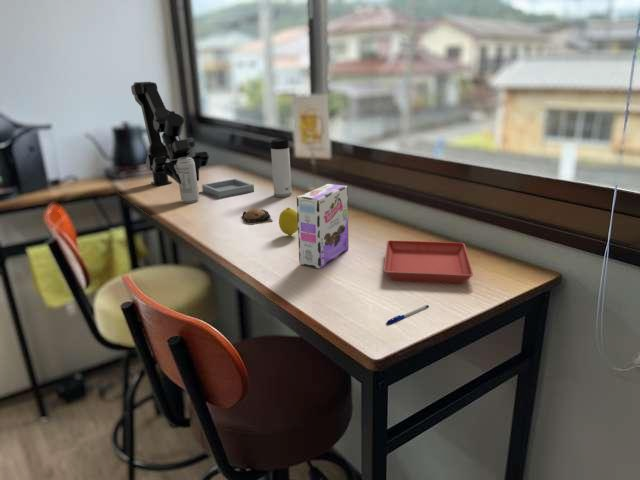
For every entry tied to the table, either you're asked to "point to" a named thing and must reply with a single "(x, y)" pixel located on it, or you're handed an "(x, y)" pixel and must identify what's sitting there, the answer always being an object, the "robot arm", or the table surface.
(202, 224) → the table surface
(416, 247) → the plant saucer
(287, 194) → the travel mug
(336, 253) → the candy box
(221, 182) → the tray
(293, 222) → the lemon
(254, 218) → the abalone
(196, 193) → the energy drink can
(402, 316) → the ballpoint pen
